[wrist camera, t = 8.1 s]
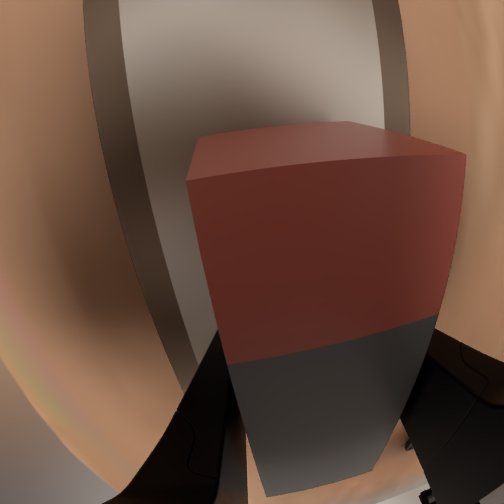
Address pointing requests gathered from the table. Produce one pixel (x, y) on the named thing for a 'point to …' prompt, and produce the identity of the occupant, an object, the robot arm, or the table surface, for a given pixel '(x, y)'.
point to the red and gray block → (323, 283)
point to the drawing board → (221, 115)
